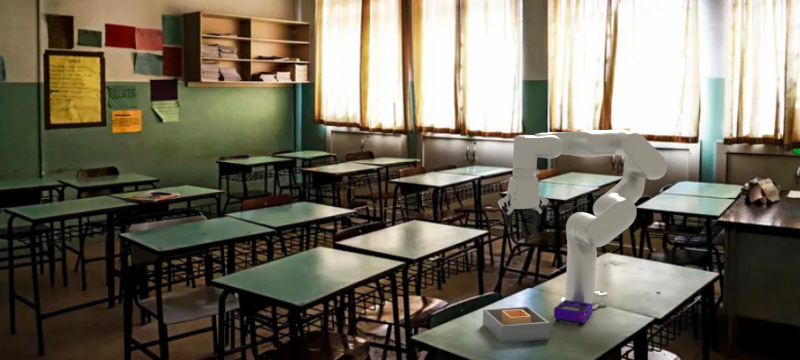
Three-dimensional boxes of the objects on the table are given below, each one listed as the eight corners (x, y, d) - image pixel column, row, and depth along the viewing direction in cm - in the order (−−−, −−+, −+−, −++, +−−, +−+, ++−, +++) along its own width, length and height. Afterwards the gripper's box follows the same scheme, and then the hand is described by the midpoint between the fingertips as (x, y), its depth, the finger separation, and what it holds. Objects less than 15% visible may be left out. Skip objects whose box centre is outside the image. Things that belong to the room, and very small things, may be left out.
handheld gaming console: (593, 302, 222) (584, 310, 208) (592, 318, 222) (582, 327, 209) (565, 298, 226) (554, 306, 213) (563, 313, 226) (553, 322, 213)
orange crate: (521, 324, 208) (521, 309, 207) (530, 332, 201) (531, 316, 200) (501, 326, 206) (501, 310, 205) (509, 334, 200) (510, 317, 199)
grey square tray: (527, 321, 213) (528, 306, 212) (549, 338, 198) (549, 322, 198) (482, 325, 209) (483, 309, 208) (501, 343, 195) (502, 326, 194)
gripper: (543, 171, 224) (541, 222, 227) (495, 172, 220) (493, 224, 222) (554, 174, 217) (552, 226, 219) (503, 175, 213) (502, 228, 215)
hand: (522, 225), depth 221 cm, fingers open, 9 cm apart
